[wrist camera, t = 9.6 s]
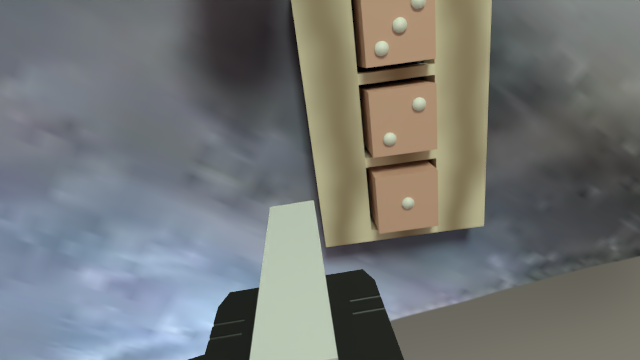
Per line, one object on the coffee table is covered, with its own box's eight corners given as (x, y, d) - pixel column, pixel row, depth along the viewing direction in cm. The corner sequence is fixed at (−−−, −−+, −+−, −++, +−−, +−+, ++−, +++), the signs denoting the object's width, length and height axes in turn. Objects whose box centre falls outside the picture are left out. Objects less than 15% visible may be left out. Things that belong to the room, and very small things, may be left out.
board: (324, 232, 38) (326, 247, 35) (289, -15, 30) (287, -22, 27) (470, 213, 38) (483, 225, 35) (475, -41, 30) (493, -51, 27)
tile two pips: (365, 145, 35) (374, 158, 30) (359, 87, 33) (368, 92, 28) (421, 137, 35) (438, 149, 30) (419, 79, 33) (437, 83, 28)
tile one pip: (370, 213, 37) (379, 234, 33) (366, 163, 35) (375, 178, 31) (423, 206, 37) (439, 226, 33) (421, 156, 35) (438, 170, 31)
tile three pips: (358, 66, 32) (366, 68, 28) (352, -2, 30) (360, -11, 26) (418, 58, 32) (436, 58, 28) (416, -11, 30) (435, -22, 26)
